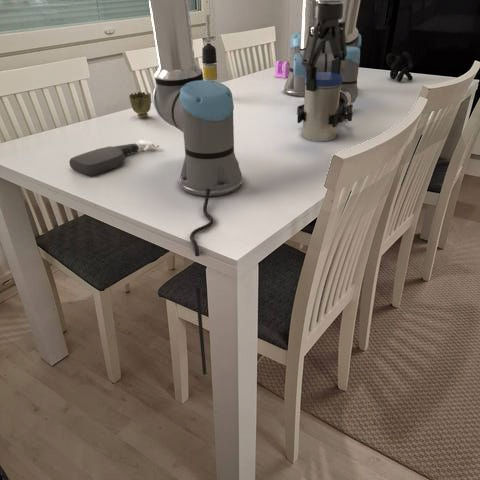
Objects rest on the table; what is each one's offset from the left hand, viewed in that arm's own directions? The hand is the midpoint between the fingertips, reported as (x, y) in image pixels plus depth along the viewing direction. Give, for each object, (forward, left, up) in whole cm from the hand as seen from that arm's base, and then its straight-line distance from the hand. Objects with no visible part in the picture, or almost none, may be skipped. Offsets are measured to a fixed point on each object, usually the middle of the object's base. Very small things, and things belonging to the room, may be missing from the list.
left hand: (322, 87), depth 131 cm
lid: (0, 0, +3) cm, 3 cm away
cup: (+1, +63, -15) cm, 65 cm away
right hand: (-4, 0, -9) cm, 10 cm away
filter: (+32, +50, -15) cm, 61 cm away
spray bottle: (-36, +50, -15) cm, 63 cm away
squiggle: (+85, -20, -15) cm, 88 cm away
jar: (0, 0, -15) cm, 15 cm away
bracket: (+82, +31, -15) cm, 89 cm away
